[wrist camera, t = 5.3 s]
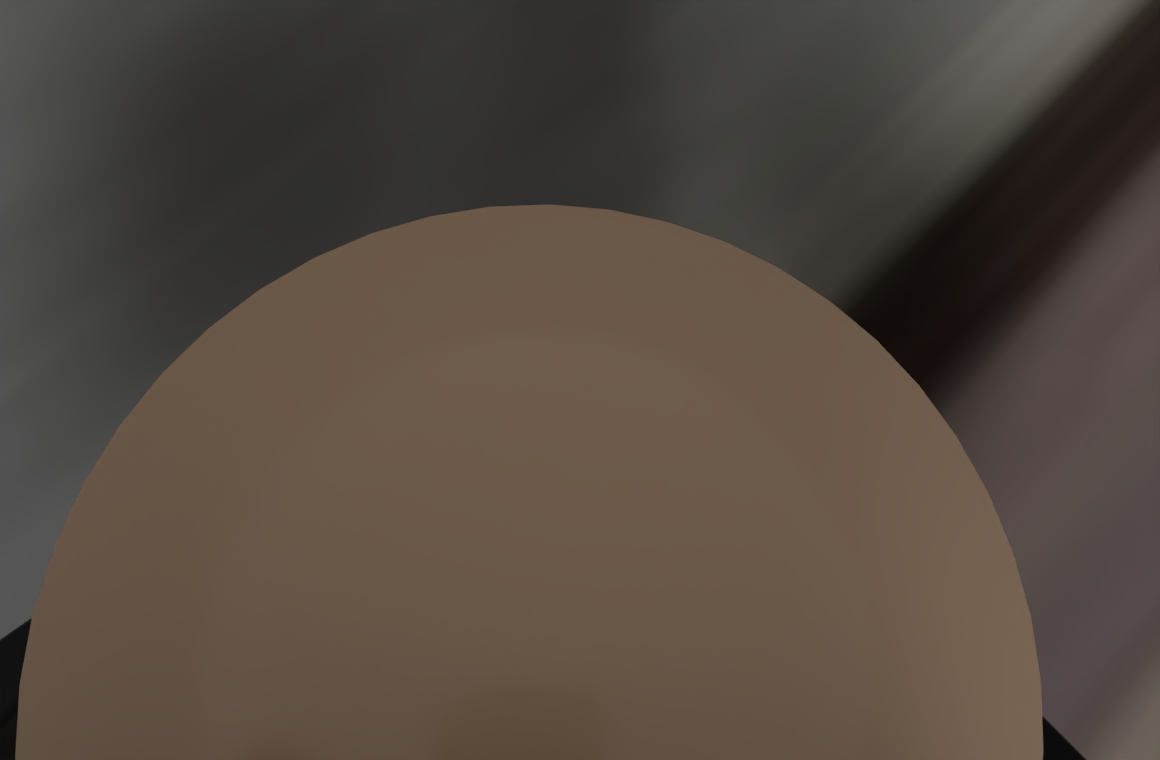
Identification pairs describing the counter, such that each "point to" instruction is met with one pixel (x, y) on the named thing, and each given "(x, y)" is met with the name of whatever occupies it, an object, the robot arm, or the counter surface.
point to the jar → (532, 523)
